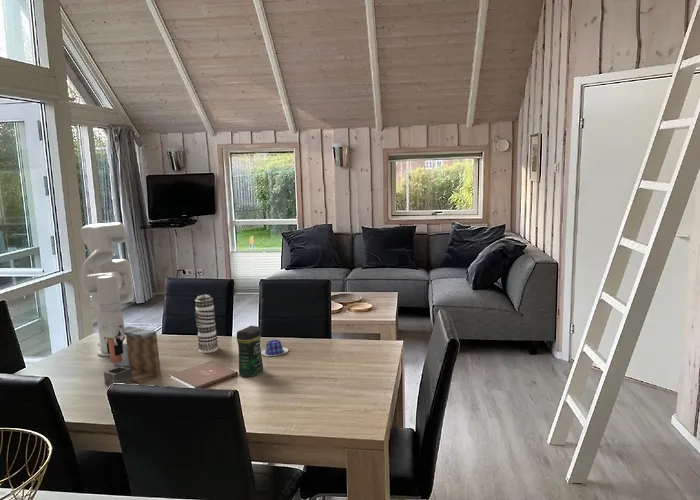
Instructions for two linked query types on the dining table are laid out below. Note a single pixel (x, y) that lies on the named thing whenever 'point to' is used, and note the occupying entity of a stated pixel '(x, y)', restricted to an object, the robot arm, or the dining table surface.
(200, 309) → the decorative candle
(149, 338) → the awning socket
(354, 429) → the dining table surface
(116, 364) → the medicine box
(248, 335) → the coffee jar
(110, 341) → the peg
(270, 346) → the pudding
